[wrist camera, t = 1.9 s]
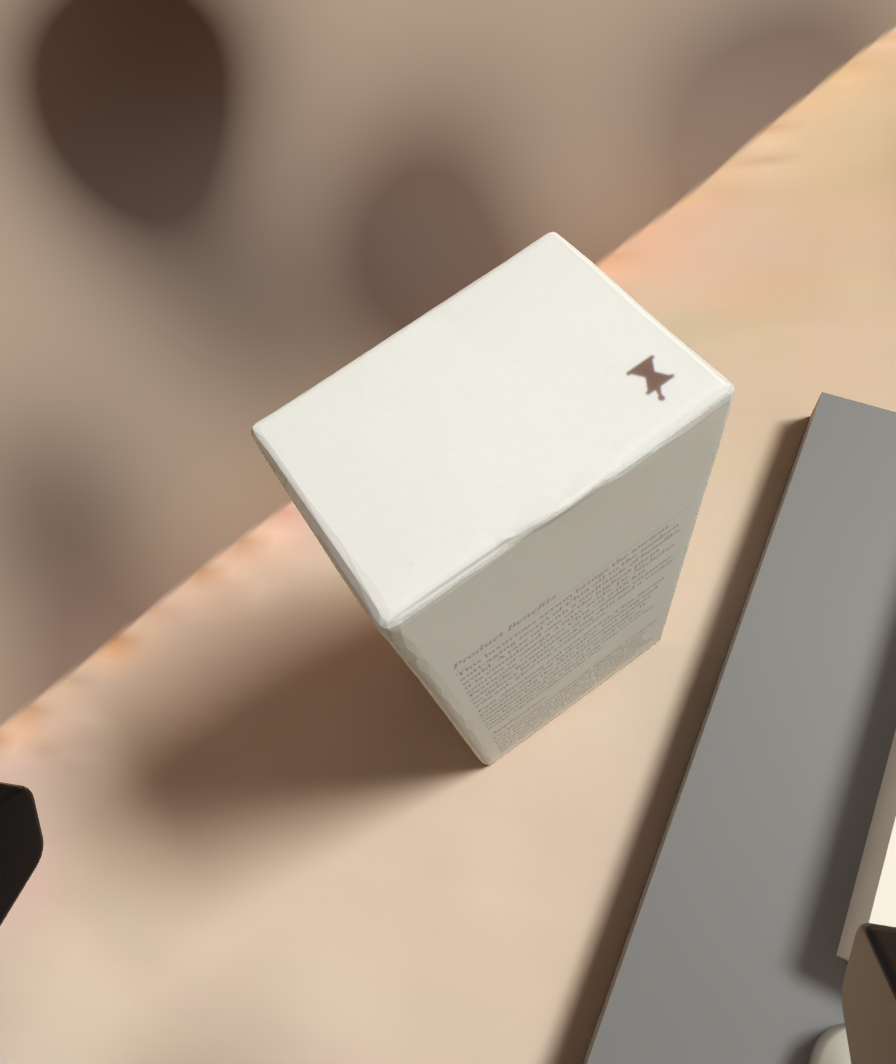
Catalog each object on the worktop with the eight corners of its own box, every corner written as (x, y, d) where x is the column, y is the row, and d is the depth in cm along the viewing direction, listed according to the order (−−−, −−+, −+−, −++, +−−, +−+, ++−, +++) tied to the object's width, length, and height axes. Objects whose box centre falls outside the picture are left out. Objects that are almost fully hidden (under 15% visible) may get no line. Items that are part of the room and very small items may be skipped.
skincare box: (566, 530, 23) (562, 215, 12) (663, 642, 21) (755, 385, 11) (397, 649, 22) (236, 420, 12) (482, 775, 21) (386, 642, 10)
